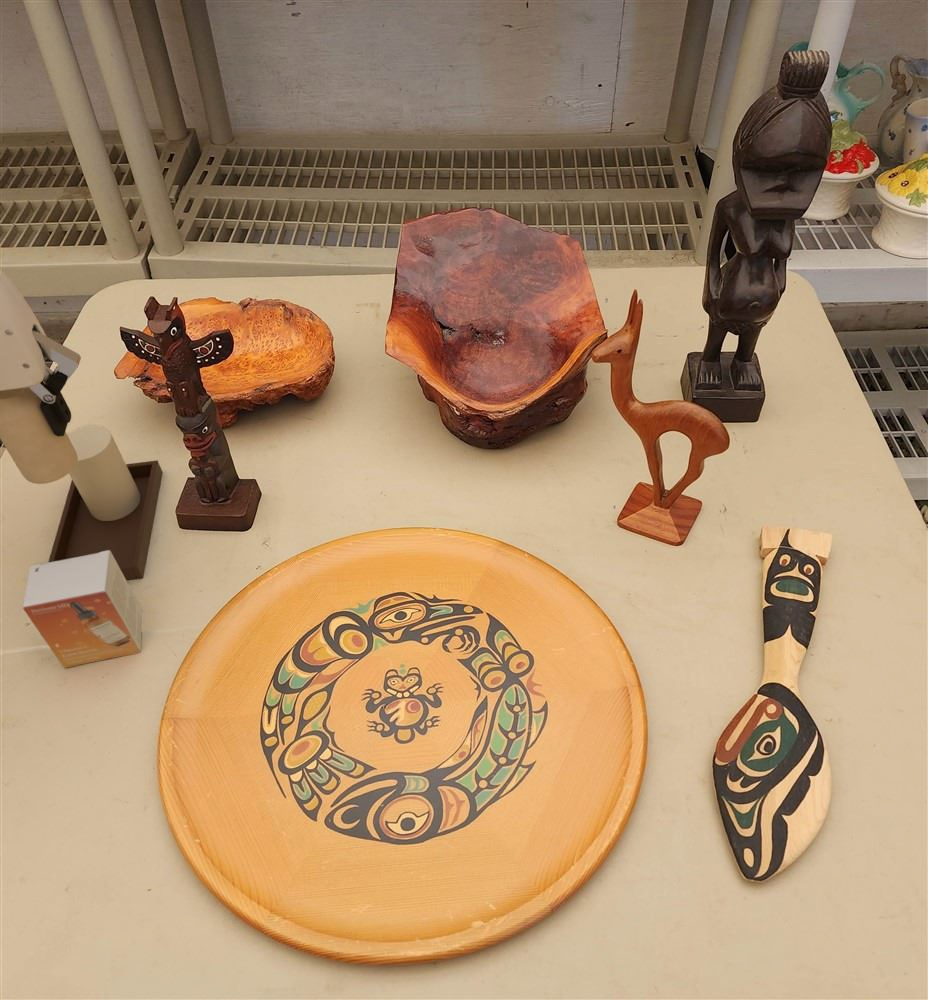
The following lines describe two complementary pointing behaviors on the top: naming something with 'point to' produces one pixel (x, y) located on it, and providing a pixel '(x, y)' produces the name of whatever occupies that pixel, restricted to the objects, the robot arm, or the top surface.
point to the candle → (33, 438)
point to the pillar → (102, 474)
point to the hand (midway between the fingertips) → (30, 429)
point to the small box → (84, 609)
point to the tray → (112, 525)
